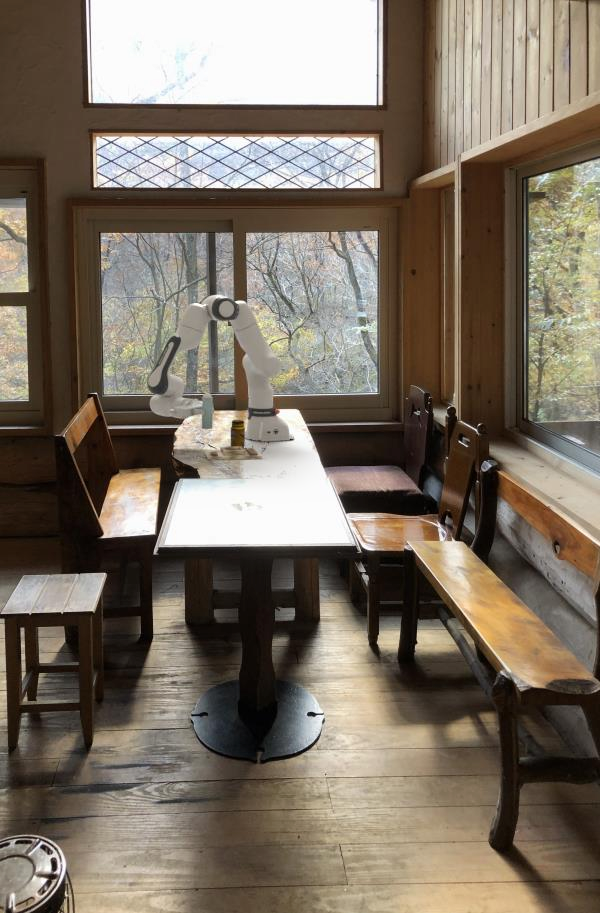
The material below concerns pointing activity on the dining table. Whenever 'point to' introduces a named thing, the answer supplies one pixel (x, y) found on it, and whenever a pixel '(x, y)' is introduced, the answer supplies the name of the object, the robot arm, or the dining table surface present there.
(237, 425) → the condiment
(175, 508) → the dining table surface
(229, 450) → the jig
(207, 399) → the roll-on deodorant
